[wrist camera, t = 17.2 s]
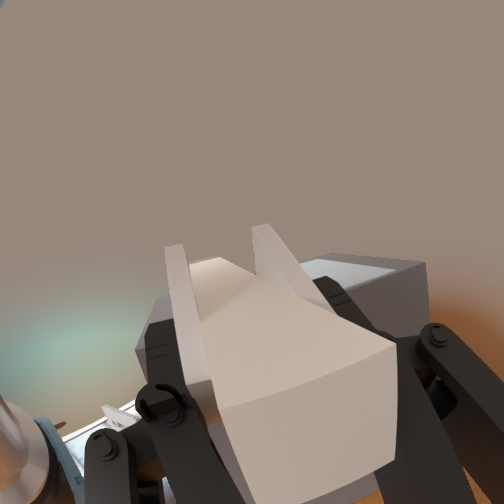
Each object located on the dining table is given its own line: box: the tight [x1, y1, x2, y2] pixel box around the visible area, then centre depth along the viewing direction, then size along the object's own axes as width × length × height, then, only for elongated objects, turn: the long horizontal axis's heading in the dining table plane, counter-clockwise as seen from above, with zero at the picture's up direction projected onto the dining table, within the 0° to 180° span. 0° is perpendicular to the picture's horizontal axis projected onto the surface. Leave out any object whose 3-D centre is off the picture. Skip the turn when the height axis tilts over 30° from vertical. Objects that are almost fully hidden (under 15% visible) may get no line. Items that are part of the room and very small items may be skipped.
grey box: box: [135, 253, 430, 504], centre depth 33 cm, size 20×26×29 cm
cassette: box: [101, 404, 140, 432], centre depth 47 cm, size 12×2×8 cm, turn 63°
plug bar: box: [189, 256, 397, 504], centre depth 18 cm, size 28×3×3 cm, turn 13°
